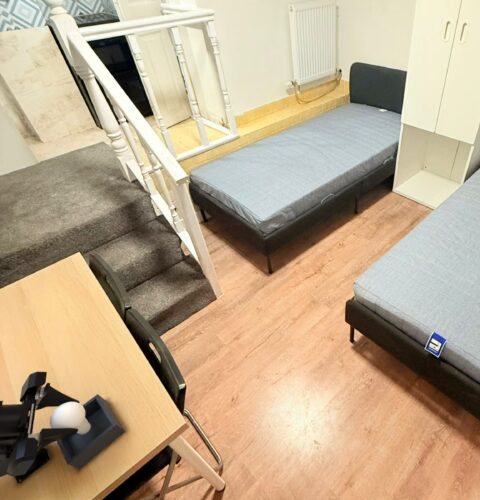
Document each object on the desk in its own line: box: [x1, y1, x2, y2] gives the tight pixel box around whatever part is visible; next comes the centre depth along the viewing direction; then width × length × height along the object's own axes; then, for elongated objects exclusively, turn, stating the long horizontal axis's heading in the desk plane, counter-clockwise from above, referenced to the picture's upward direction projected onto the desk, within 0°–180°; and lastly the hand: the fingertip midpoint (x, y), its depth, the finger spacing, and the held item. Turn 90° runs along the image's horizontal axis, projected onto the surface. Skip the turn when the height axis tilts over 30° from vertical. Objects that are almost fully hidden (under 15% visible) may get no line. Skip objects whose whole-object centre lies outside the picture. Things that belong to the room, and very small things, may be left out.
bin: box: [56, 393, 126, 471], centre depth 78 cm, size 11×11×5 cm
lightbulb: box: [49, 402, 91, 435], centre depth 73 cm, size 6×6×11 cm
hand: (78, 416), depth 73 cm, fingers closed on lightbulb, 6 cm apart
